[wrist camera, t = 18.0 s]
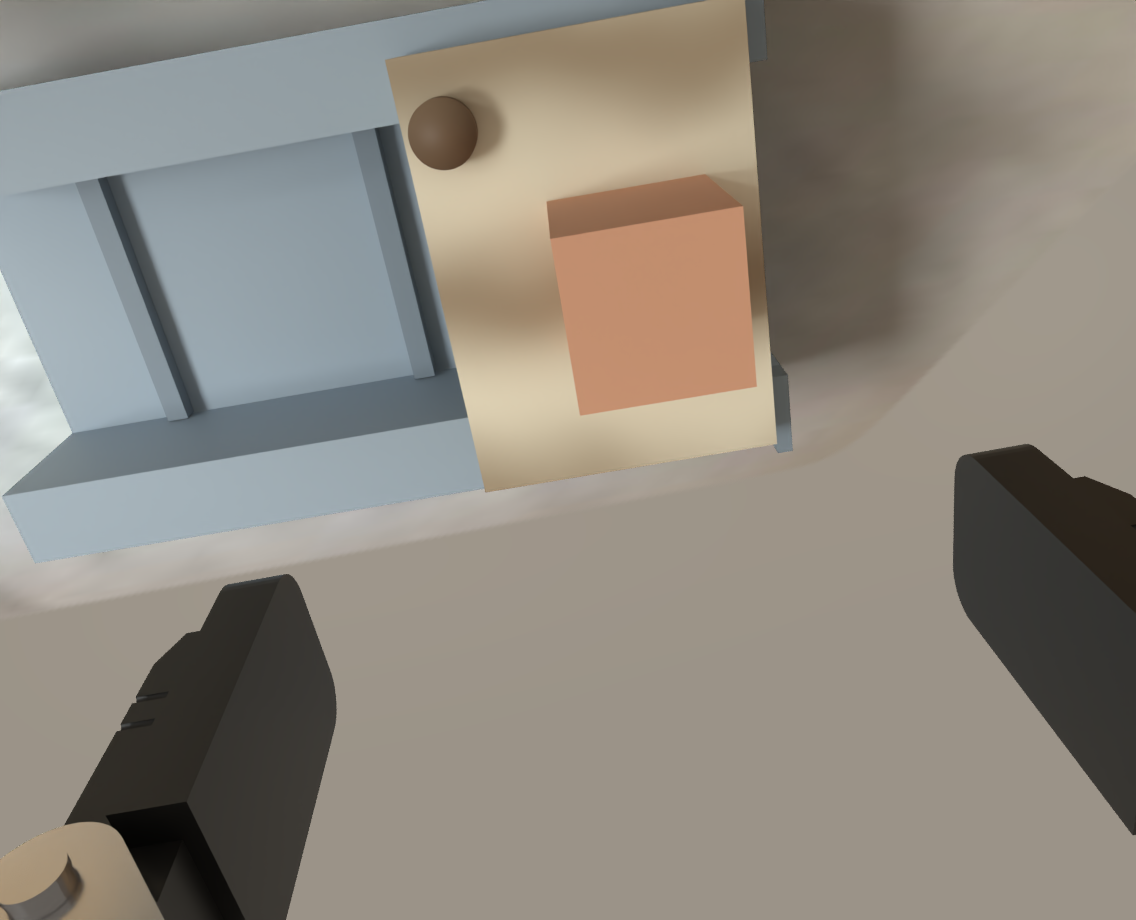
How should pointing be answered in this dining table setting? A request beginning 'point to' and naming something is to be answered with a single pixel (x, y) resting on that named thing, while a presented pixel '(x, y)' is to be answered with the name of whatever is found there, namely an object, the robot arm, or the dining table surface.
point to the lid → (567, 169)
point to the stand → (244, 284)
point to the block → (654, 293)
